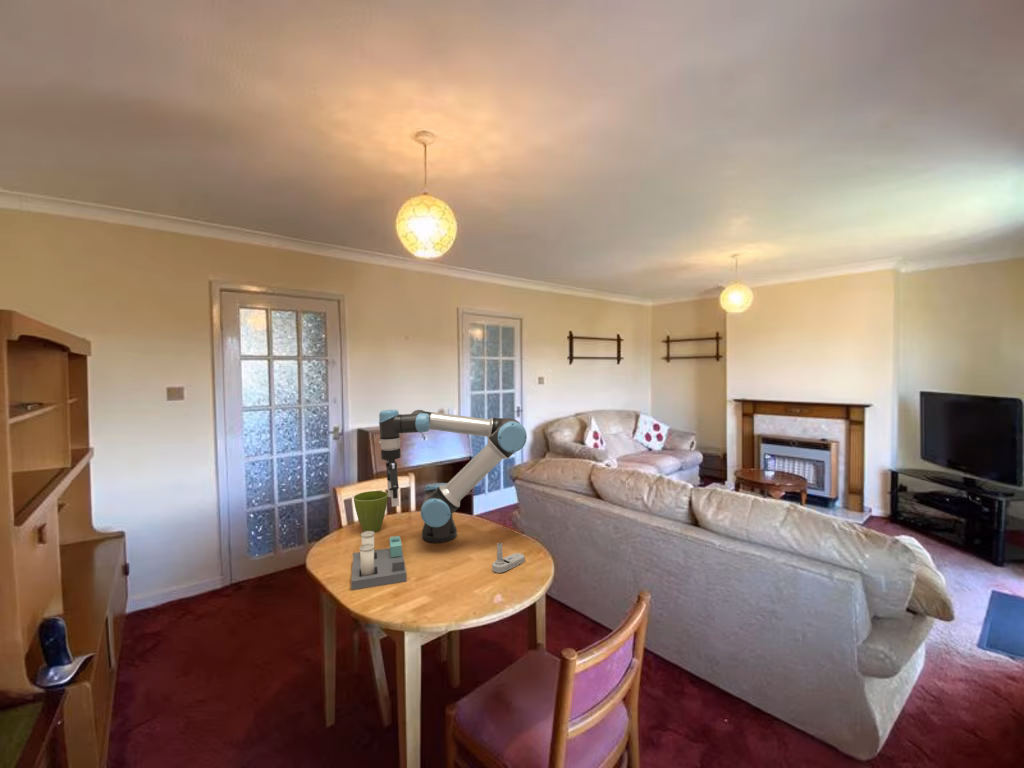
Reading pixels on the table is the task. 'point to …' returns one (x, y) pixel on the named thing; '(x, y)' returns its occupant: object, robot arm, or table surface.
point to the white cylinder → (368, 538)
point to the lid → (395, 546)
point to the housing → (379, 570)
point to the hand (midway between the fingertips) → (393, 501)
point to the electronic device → (506, 560)
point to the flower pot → (371, 509)
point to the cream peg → (367, 559)
